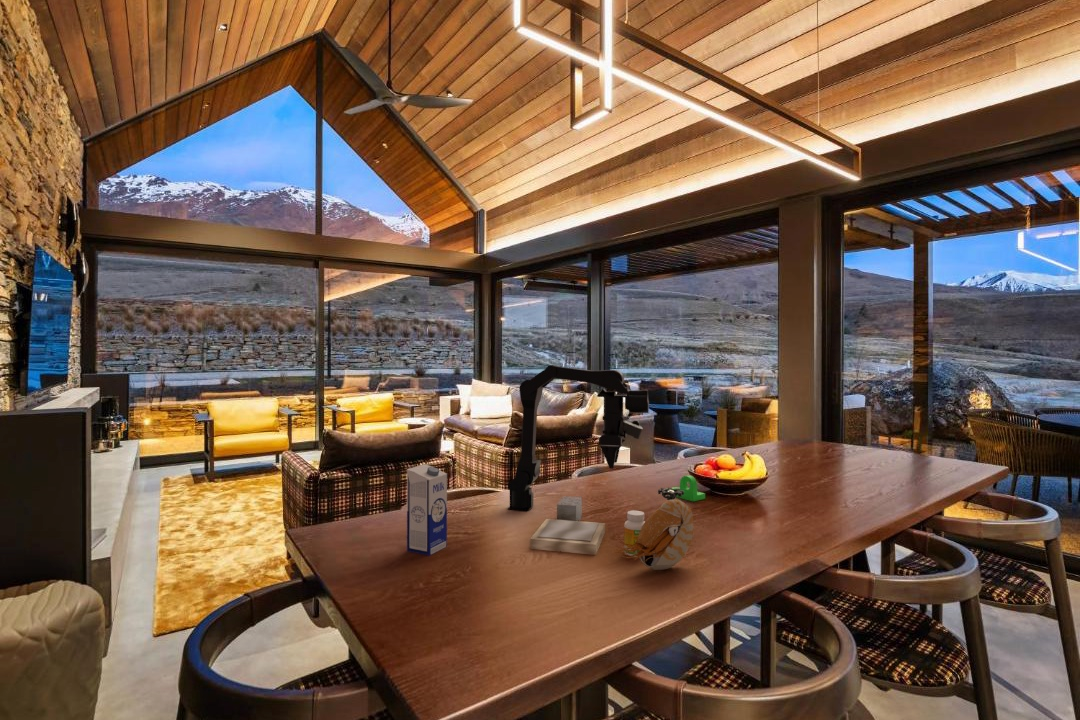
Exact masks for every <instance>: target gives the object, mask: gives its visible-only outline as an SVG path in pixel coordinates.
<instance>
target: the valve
mask: <svg viewBox="0 0 1080 720" xmlns="http://www.w3.org/2000/svg"><path fill="white" fill-rule="evenodd" d="M667 488H668V489H667ZM667 488H665V487H661V488H660V489H658V490H657V494H658V495H661V496H662V497H663V498H664V499H666V501H667V500H673V499H677V498H679V497H682V495H684V491H683V490H680V489H679V488H680V487H679V488H676V489H672V487H667ZM677 495H678V497H676V496H677Z"/></svg>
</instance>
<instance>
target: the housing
mask: <svg viewBox="0 0 1080 720" xmlns="http://www.w3.org/2000/svg"><path fill="white" fill-rule="evenodd" d="M582 502H583V501H582V496H581V497H580V496H565V495H564V496H562V497H561V499H560V500H559V501H558V502H557V504H556V520H569V521H579V520H581V518H582V513H583V512H582V510H583V509H582V506H583V505H582V504H583V503H582Z"/></svg>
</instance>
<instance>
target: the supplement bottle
mask: <svg viewBox="0 0 1080 720" xmlns="http://www.w3.org/2000/svg"><path fill="white" fill-rule="evenodd" d="M626 513H627V515H626V517H627V520H625V522H624V527H623V528H624V532H623V535H624V538H623V540H624V541H623V542H624V543H625V544H631V545H633V544H634V543H635V542H636V541H637V539H638V537H639V533H640V531H641V528H642V526H643V524H644V523H645V521H646V520H645V512H644V511H641V510H640V511H639V510H628V511H627V512H626ZM625 544H623V545H624V547H623V549H624V548H627V547H628V546H631V545H628V546H626V545H625ZM633 546H634V545H633ZM633 546H631V547H633ZM627 549H628V548H627ZM628 550H631V549H628ZM626 552H628V551H626V550H625V551H624V550H623V553H626ZM631 552H633V551H629V552H628V553H626V554H628V555H630V556H633V555H635V554H637V552H639V551H638V550H636V551H634V552H633V553H631ZM629 553H630V554H629ZM630 556H629V557H630ZM633 557H638V556H633Z"/></svg>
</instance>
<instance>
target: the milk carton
mask: <svg viewBox="0 0 1080 720" xmlns="http://www.w3.org/2000/svg"><path fill="white" fill-rule="evenodd" d="M406 470H407V471H406V479H407V480H406V483H407V484H406V487H407V488H406V551H407V552H410V553H415V554H420V555H424V556H425V555H426V556H431V555H433V554H435V553H437V552H440V551H441V550H443V549H445V548H447V546H448V544H447V543H448V541H447V539H448V537H447V536H448V534H447V533H448V531H447V530H448V520H447V519H448V511H447V510H448V473H447V472H444V471H442V470H440V469H439V468H437V467H435V466H432V465H429V464H426V463H425V464H424V463H423V464H421V465H418V466H414V467H410V468H407V469H406Z"/></svg>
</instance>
